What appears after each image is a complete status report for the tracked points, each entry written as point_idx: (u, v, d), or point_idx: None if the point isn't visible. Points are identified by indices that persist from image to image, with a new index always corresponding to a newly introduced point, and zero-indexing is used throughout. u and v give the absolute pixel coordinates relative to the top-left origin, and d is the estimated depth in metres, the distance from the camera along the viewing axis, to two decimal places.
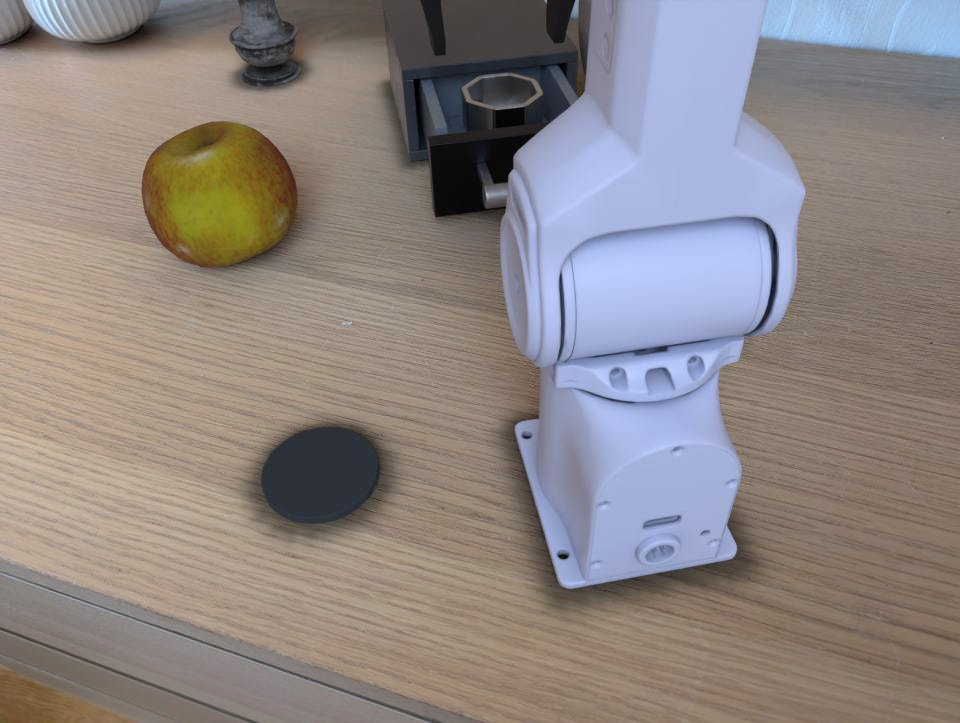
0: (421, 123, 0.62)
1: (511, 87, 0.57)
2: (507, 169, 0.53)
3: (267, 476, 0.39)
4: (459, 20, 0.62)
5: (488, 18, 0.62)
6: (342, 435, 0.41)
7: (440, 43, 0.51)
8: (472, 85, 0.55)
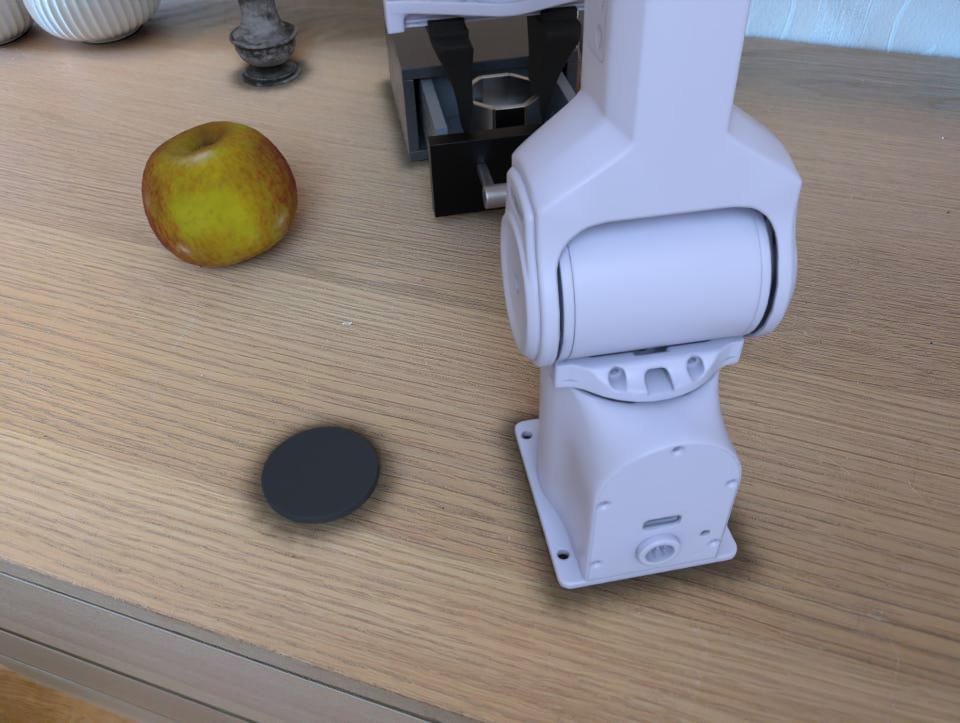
0: (421, 123, 0.62)
1: (511, 88, 0.57)
2: (507, 170, 0.53)
3: (267, 476, 0.39)
4: None
5: None
6: (342, 435, 0.41)
7: None
8: (472, 85, 0.55)
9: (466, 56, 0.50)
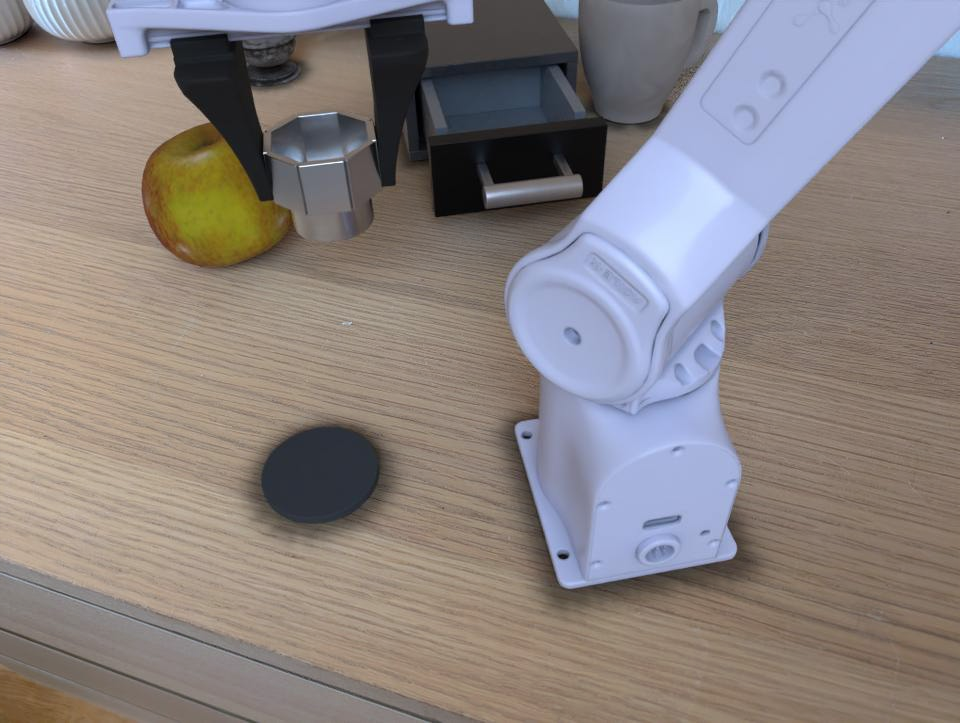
0: (421, 123, 0.62)
1: (343, 130, 0.40)
2: (507, 170, 0.53)
3: (267, 476, 0.39)
4: None
5: (488, 18, 0.62)
6: (342, 435, 0.41)
7: (263, 187, 0.38)
8: (281, 128, 0.39)
9: (228, 93, 0.33)
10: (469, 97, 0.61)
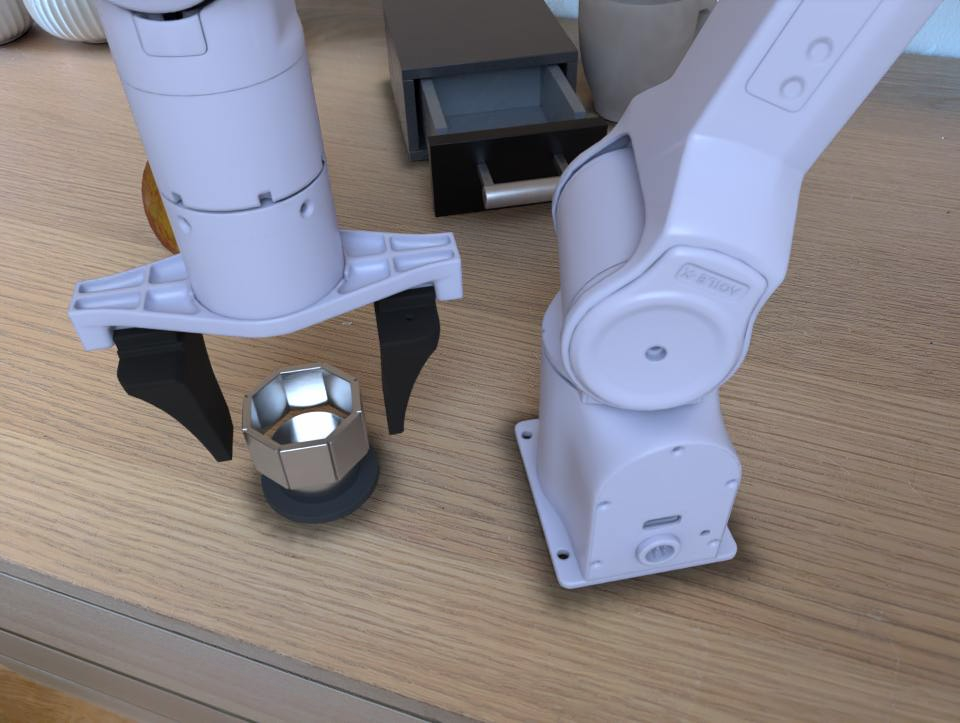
0: (421, 123, 0.62)
1: (327, 383, 0.38)
2: (507, 170, 0.53)
3: None
4: (459, 20, 0.62)
5: (488, 18, 0.62)
6: None
7: (219, 452, 0.35)
8: (262, 390, 0.37)
9: (176, 389, 0.31)
10: (469, 97, 0.61)
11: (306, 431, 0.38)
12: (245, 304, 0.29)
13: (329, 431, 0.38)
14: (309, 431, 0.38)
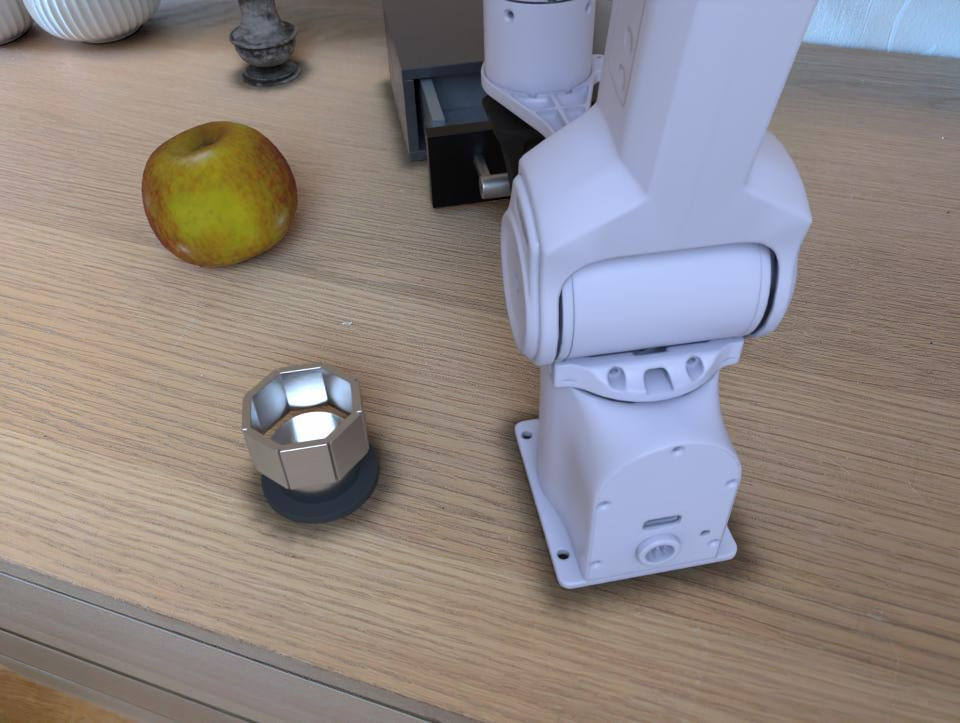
0: (419, 116, 0.62)
1: (327, 383, 0.38)
2: (503, 161, 0.53)
3: None
4: (459, 20, 0.62)
5: None
6: None
7: None
8: (262, 390, 0.37)
9: None
10: (467, 90, 0.62)
11: (306, 431, 0.38)
12: None
13: (329, 431, 0.38)
14: (309, 431, 0.38)
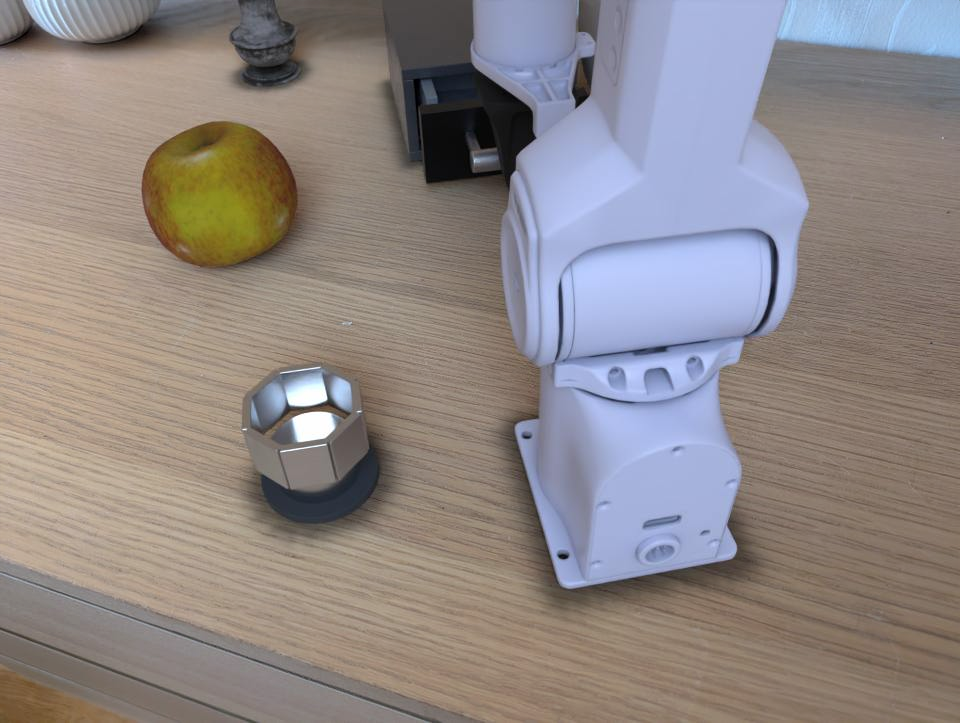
0: None
1: (327, 383, 0.38)
2: (494, 138, 0.56)
3: None
4: (459, 20, 0.62)
5: None
6: None
7: (503, 174, 0.52)
8: (262, 390, 0.37)
9: None
10: None
11: (306, 431, 0.38)
12: None
13: (329, 431, 0.38)
14: (309, 431, 0.38)
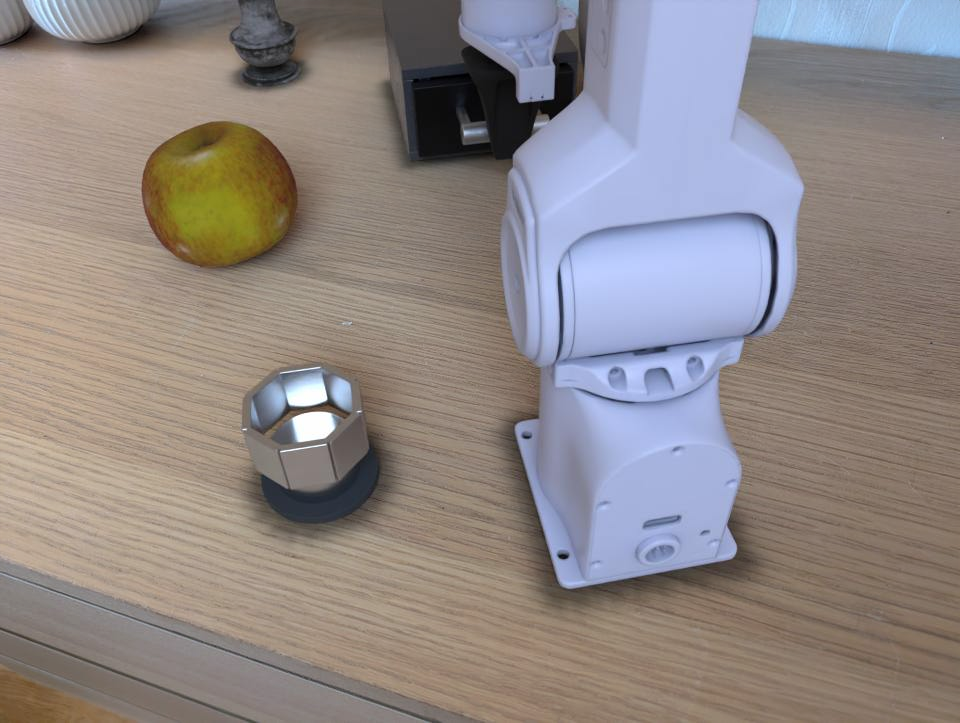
0: None
1: (327, 383, 0.38)
2: (483, 113, 0.58)
3: None
4: None
5: None
6: None
7: (491, 146, 0.55)
8: (262, 390, 0.37)
9: None
10: None
11: (306, 431, 0.38)
12: None
13: (329, 431, 0.38)
14: (309, 431, 0.38)
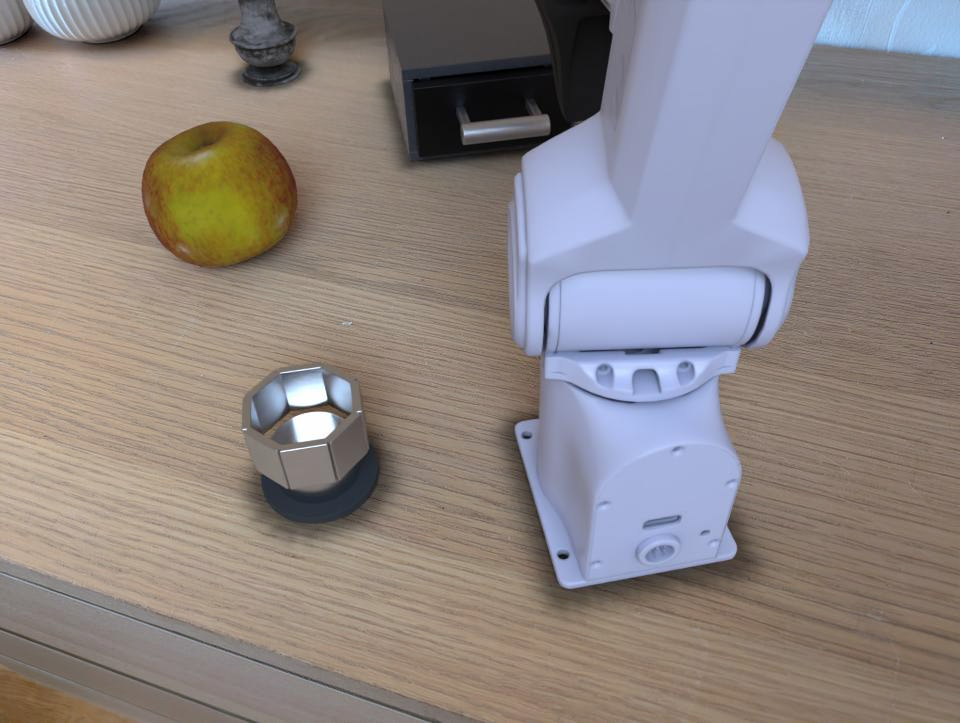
0: None
1: (327, 383, 0.38)
2: (483, 113, 0.58)
3: None
4: (459, 20, 0.62)
5: (488, 18, 0.62)
6: None
7: (559, 100, 0.45)
8: (262, 390, 0.37)
9: (538, 4, 0.42)
10: None
11: (306, 431, 0.38)
12: None
13: (329, 431, 0.38)
14: (309, 431, 0.38)
